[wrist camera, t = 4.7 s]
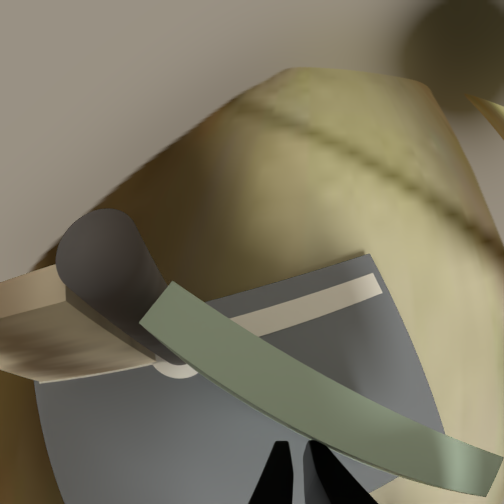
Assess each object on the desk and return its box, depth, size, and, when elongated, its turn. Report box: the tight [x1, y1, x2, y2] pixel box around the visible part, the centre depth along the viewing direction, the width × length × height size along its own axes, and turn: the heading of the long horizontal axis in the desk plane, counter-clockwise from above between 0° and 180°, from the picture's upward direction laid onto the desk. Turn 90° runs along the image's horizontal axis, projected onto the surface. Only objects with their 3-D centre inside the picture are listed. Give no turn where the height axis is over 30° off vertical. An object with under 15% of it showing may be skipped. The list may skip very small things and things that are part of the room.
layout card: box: [34, 254, 445, 504], centre depth 13 cm, size 22×14×1 cm, turn 108°
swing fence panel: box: [139, 281, 504, 497], centre depth 9 cm, size 10×1×9 cm, turn 57°
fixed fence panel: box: [0, 209, 186, 382], centre depth 10 cm, size 10×2×10 cm, turn 108°
